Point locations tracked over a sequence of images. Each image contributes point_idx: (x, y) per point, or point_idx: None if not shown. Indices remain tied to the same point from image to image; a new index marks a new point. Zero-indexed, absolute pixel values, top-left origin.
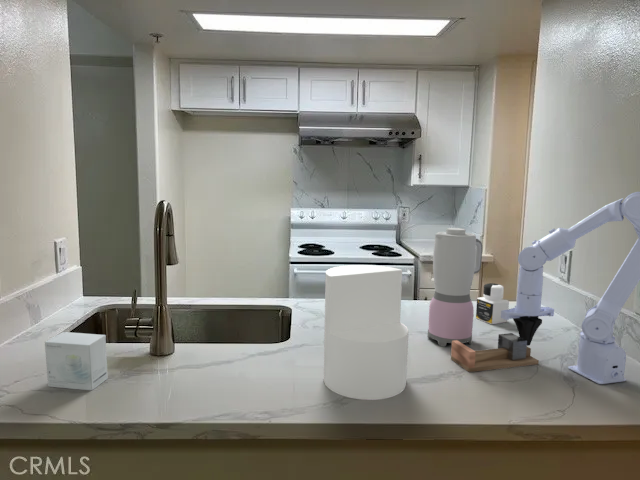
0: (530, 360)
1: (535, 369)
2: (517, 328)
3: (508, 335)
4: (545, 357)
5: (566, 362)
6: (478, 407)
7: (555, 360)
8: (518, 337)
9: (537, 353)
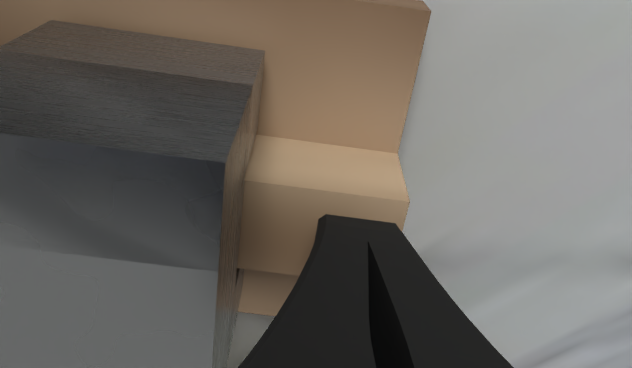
0: (276, 305)
1: (240, 350)
2: (246, 361)
3: (55, 236)
4: (578, 222)
5: (621, 350)
6: None
7: (584, 297)
8: (174, 358)
9: (621, 117)
